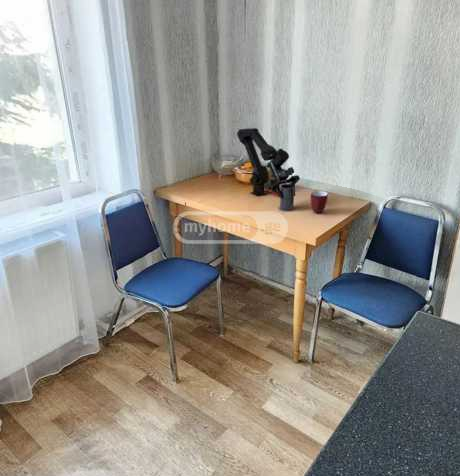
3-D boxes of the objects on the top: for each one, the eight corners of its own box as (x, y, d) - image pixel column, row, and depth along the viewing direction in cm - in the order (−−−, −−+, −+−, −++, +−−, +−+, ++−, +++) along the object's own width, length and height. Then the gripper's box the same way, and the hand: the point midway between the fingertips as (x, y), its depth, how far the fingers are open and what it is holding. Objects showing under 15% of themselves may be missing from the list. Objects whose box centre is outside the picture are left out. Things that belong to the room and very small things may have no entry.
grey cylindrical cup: (277, 208, 203) (278, 185, 198) (286, 205, 207) (287, 183, 202) (286, 212, 198) (287, 189, 193) (296, 209, 202) (297, 186, 197)
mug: (326, 217, 191) (328, 198, 187) (309, 216, 193) (311, 197, 188) (325, 209, 201) (327, 191, 197) (309, 208, 202) (310, 190, 198)
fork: (264, 191, 227) (264, 190, 227) (268, 190, 229) (268, 188, 228) (283, 198, 215) (284, 197, 215) (287, 197, 217) (288, 196, 217)
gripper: (268, 164, 192) (280, 193, 188) (299, 159, 200) (311, 186, 196) (259, 176, 202) (270, 203, 197) (288, 170, 210) (300, 196, 206)
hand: (288, 197), depth 199 cm, fingers closed on grey cylindrical cup, 7 cm apart
